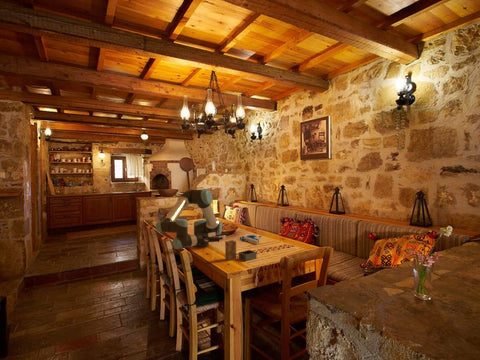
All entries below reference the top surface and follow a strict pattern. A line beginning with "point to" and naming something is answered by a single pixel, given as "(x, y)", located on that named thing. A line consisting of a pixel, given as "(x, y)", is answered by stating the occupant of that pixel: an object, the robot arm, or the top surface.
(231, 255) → the brown wooden block
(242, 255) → the endcap
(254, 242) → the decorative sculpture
